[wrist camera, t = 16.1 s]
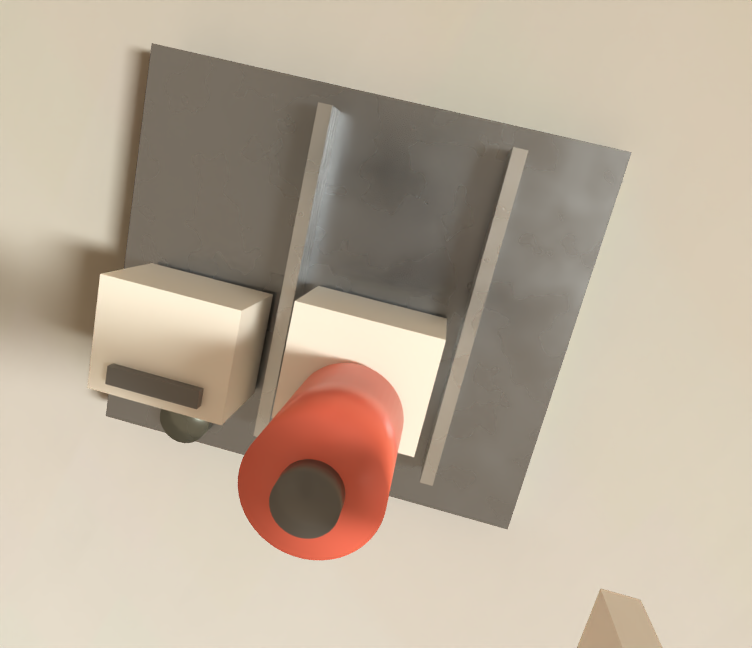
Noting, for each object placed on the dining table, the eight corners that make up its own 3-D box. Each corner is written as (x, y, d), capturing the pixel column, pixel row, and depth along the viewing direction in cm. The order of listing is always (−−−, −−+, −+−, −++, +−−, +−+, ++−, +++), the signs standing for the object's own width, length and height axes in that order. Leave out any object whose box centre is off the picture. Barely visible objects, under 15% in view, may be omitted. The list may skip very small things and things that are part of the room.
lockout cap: (308, 348, 22) (246, 409, 15) (417, 382, 21) (404, 459, 15) (281, 449, 23) (213, 548, 16) (386, 483, 22) (359, 597, 16)
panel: (173, 54, 26) (131, 32, 23) (617, 156, 25) (644, 148, 21) (127, 402, 31) (86, 428, 27) (503, 507, 29) (510, 549, 26)
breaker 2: (318, 285, 26) (292, 302, 21) (446, 318, 25) (445, 342, 21) (297, 386, 27) (268, 421, 22) (419, 419, 26) (413, 461, 22)
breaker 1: (151, 263, 26) (94, 274, 22) (273, 294, 26) (238, 312, 22) (138, 361, 28) (81, 391, 23) (254, 393, 27) (217, 429, 23)
